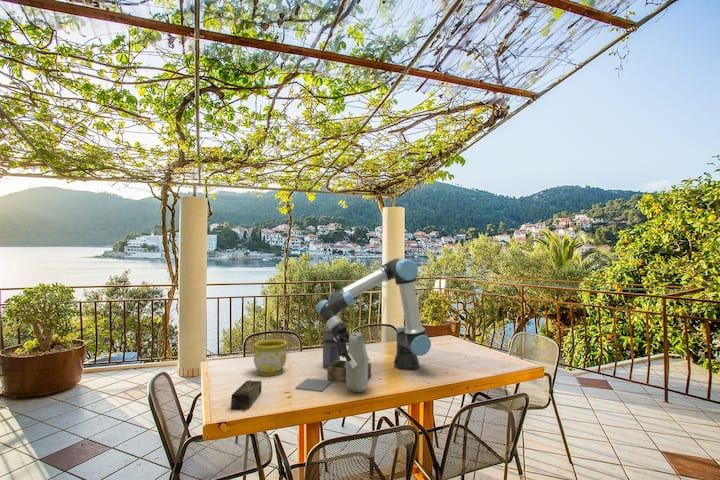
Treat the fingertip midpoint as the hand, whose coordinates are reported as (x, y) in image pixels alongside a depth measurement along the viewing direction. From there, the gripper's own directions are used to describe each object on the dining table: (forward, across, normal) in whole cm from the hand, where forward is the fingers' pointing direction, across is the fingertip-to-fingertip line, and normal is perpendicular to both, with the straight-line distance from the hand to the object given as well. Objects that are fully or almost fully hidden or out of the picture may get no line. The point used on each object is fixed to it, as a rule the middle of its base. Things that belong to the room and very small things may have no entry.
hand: (361, 363), depth 167 cm
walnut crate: (-3, -13, -22) cm, 25 cm away
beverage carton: (-16, +38, -36) cm, 54 cm away
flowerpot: (-32, +6, -52) cm, 61 cm away
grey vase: (+8, 0, -12) cm, 14 cm away
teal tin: (-4, -14, -22) cm, 27 cm away
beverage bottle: (-18, -23, -37) cm, 47 cm away
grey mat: (-8, +6, -28) cm, 29 cm away
